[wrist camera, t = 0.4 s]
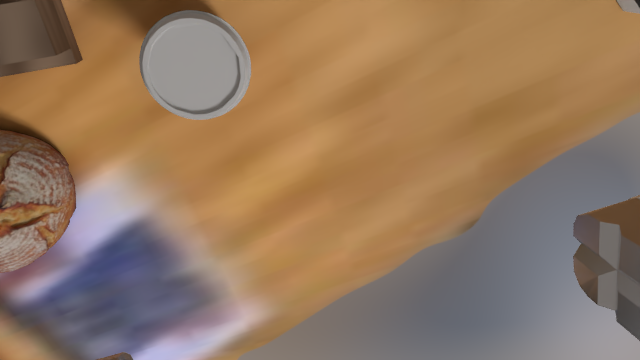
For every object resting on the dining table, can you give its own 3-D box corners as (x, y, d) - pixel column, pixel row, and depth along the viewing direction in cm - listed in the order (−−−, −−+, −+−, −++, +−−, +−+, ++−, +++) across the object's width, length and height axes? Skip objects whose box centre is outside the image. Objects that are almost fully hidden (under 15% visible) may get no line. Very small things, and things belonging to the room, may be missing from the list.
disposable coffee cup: (255, 88, 54) (256, 119, 43) (169, 93, 53) (148, 127, 42) (246, -2, 50) (244, 8, 39) (153, 3, 49) (125, 14, 38)
